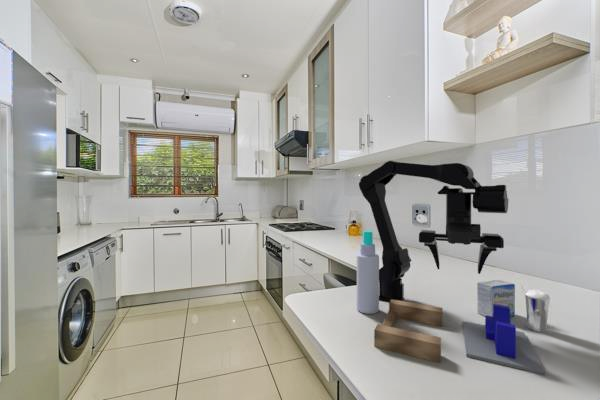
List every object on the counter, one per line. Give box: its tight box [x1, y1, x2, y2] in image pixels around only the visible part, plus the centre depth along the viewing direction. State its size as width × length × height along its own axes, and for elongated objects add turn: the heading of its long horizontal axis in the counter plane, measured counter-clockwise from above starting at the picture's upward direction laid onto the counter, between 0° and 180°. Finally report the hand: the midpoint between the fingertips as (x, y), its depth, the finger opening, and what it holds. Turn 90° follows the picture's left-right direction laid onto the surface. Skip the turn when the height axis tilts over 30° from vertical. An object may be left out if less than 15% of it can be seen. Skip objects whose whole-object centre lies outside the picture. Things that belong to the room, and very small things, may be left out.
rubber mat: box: [462, 320, 546, 376], centre depth 59 cm, size 12×16×1 cm
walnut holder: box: [373, 299, 443, 364], centre depth 64 cm, size 12×20×4 cm, turn 152°
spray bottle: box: [356, 230, 380, 315], centre depth 77 cm, size 6×6×22 cm
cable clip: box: [484, 304, 517, 359], centre depth 59 cm, size 12×4×6 cm, turn 148°
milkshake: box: [520, 285, 551, 333], centre depth 66 cm, size 5×5×10 cm
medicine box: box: [476, 279, 516, 318], centre depth 74 cm, size 8×4×9 cm, turn 105°
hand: (458, 271), depth 73 cm, fingers open, 9 cm apart
